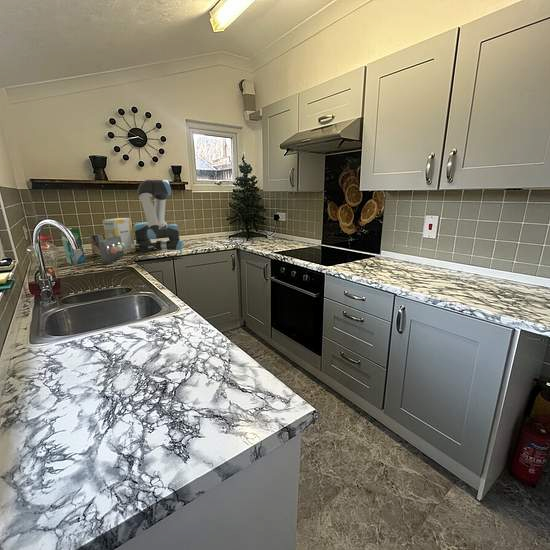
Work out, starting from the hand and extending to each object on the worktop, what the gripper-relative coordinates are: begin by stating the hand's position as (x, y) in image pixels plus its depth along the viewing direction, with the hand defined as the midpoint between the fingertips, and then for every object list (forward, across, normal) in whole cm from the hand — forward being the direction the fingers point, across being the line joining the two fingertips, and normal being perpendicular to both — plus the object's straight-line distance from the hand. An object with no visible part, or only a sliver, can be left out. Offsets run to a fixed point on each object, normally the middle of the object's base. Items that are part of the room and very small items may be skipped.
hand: (131, 246), depth 227 cm
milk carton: (+36, +13, +9) cm, 39 cm away
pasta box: (+16, -18, +9) cm, 26 cm away
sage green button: (+8, -1, +2) cm, 8 cm away
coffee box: (+33, -15, +9) cm, 38 cm away
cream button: (+6, +7, +2) cm, 10 cm away
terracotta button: (+6, +15, +2) cm, 16 cm away
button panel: (+13, +7, +9) cm, 18 cm away
